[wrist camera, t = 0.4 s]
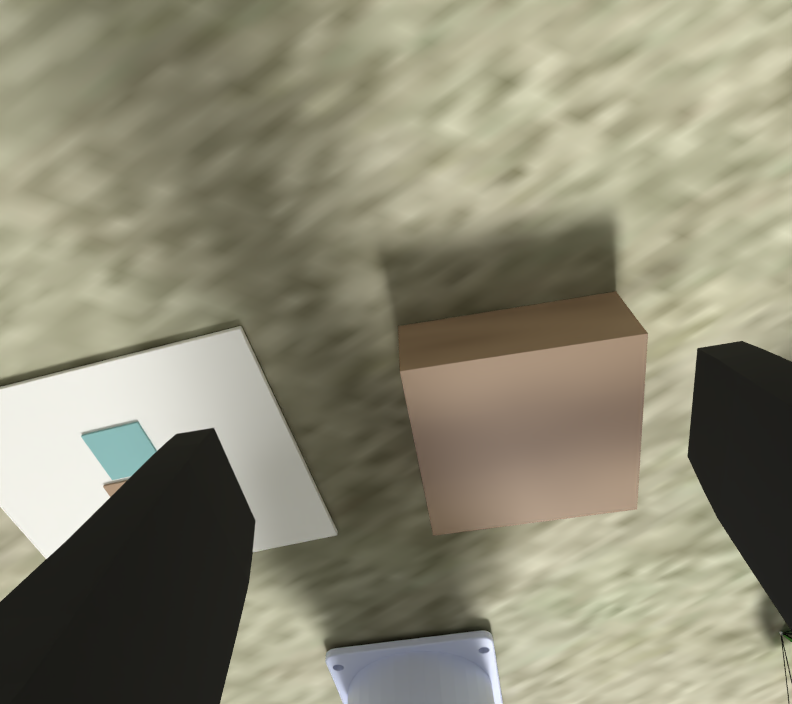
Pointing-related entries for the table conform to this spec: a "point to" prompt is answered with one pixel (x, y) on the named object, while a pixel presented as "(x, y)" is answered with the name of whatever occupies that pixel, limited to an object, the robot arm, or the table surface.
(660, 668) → the table surface
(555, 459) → the brown block
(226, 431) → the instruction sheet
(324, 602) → the table surface
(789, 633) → the geometric puzzle
